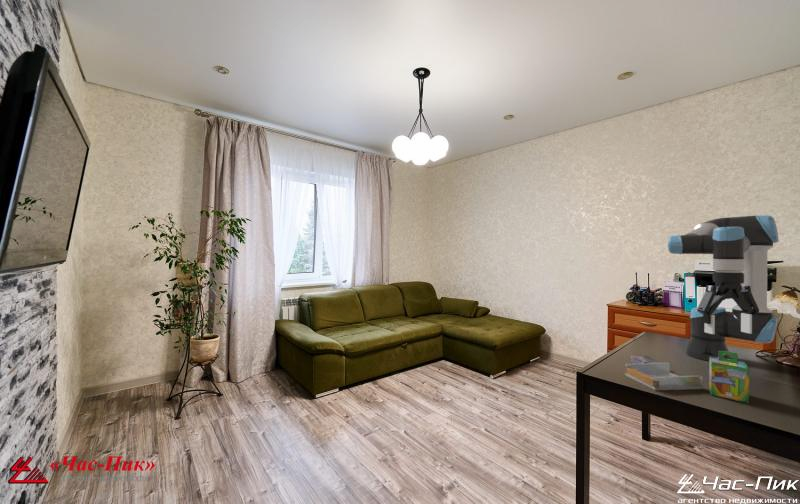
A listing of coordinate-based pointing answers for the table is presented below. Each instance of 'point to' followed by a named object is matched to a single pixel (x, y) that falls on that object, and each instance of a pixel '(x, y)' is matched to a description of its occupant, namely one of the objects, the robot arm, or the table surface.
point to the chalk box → (729, 377)
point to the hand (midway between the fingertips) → (727, 333)
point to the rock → (643, 359)
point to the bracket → (661, 377)
